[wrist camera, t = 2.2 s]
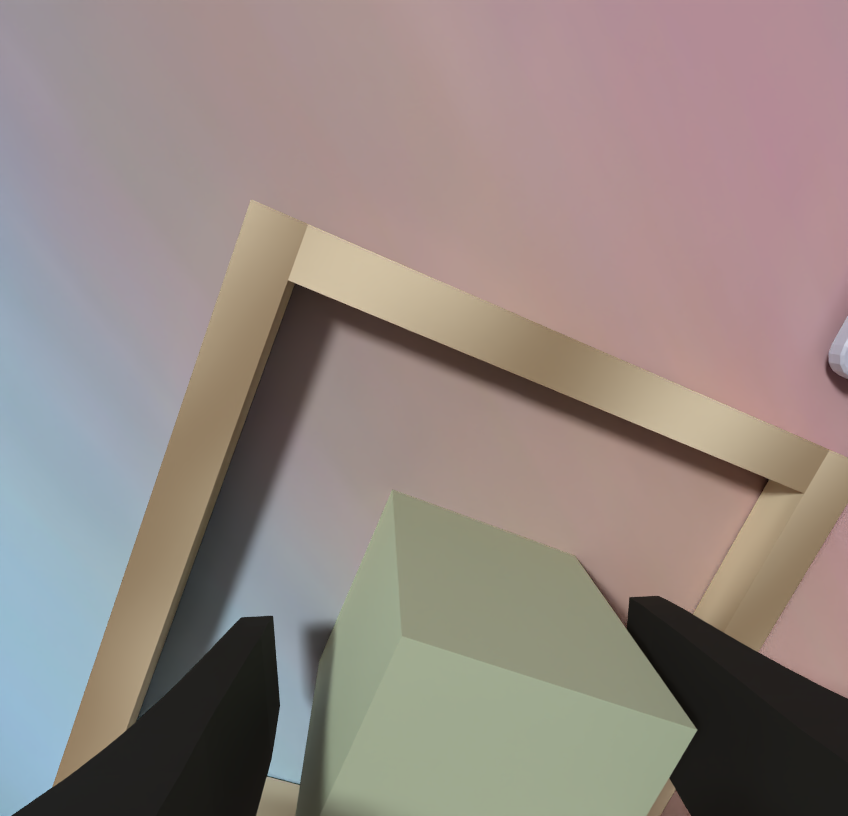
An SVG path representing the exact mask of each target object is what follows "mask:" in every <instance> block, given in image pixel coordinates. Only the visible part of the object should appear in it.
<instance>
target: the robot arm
mask: <svg viewBox="0 0 848 816" xmlns="http://www.w3.org/2000/svg"><path fill="white" fill-rule="evenodd" d="M829 364H830V366H831V368H832V370H833V371H834V372H835V373H837V374H838V375H839V376H842V377H844V378H846V379H848V316H847V318H846V320H845V322H844V323H843V325H842V327H841V329H840V330H839V332H838V334H837V336H836V338H835V339H834V341H833V343H832V345H831V348H830V351H829ZM627 631H628V632H629V633H630V635H631V636H632V638H633V639H634V641H635V642H636V643H637V645H638V646H639V648H640V649H641V650H642V652H643V653H644V655H645V656H646V658H647V659H648V660H649V662H650V663H651V665H652V666H653V668H654V669H655V670H656V672H657V673H658V675H659V676H660V678H661V679H662V680H663V682H664V683H665V685H666V686H667V687H668V689H669V690H670V692H671V693H672V695H673V696H674V697H675V699H676V700H677V702H678V703H679V705H680V706H681V707H682V709H683V710H684V712H685V713H686V714H687V716H688V717H689V719H690V720H691V722H692V723H693V724H694V726H695V727H696V729H697V732H696V733H695V735H694V737H693V738H692V740H691V742H690V743H689V745H688V747H687V748H686V750H685V752H684V753H683V755H682V757H681V759H680V760H679V762H678V764H677V765H676V767H675V769H674V770H673V772H672V774H671V775H670V777H669V779H670V780H671V782H672V784H673V786H674V787H675V789H676V791H677V792H678V794H679V796H680V798H681V799H682V801H683V803H684V804H685V806H686V808H687V809H688V811H689V813H690V815H691V816H848V699H847V698H845V697H843V696H841V695H839V694H837V693H834V692H832V691H830V690H828V689H826V688H824V687H822V686H820V685H818V684H816V683H814V682H812V681H811V680H809V679H807V678H805V677H803V676H801V675H799V674H797V673H795V672H793V671H791V670H789V669H788V668H786V667H784V666H782V665H780V664H778V663H776V662H775V661H773V660H771V659H769V658H767V657H766V656H764V655H762V654H760V653H758V652H757V651H755V650H753V649H751V648H750V647H748V646H746V645H744V644H743V643H741V642H739V641H737V640H736V639H734V638H732V637H731V636H729V635H727V634H725V633H724V632H722V631H720V630H719V629H717V628H715V627H713V626H712V625H710V624H708V623H707V622H705V621H703V620H702V619H700V618H698V617H696V616H695V615H693V614H691V613H690V612H688V611H686V610H684V609H683V608H681V607H679V606H677V605H675V604H674V603H672V602H670V601H668V600H666V599H664V598H662V597H660V596H647V597H630V598H629V610H628V621H627ZM279 708H280V700H279V687H278V674H277V661H276V649H275V636H274V623H273V616H260V617H241V618H240V619H239V620H238V621H237V622H236V623H235V624H234V625H233V626H232V627H231V628H230V629H229V630H228V631H227V633H226V634H225V635H224V636H223V637H222V638H221V639H220V640H219V641H218V642H217V643H216V644H215V645H214V646H213V647H212V648H211V649H210V650H209V652H208V653H207V654H206V655H205V656H204V657H203V658H202V659H201V660H200V661H199V662H198V663H197V664H196V665H195V666H194V667H193V668H192V669H191V670H190V671H189V672H188V673H187V674H186V675H185V676H184V677H183V678H182V679H181V680H180V681H179V682H178V683H177V684H176V685H175V686H174V687H173V688H172V689H171V690H170V691H169V692H168V693H167V694H166V695H165V696H164V697H163V698H161V699H160V700H159V701H158V702H157V703H156V704H155V705H154V706H153V707H152V708H151V709H150V710H148V711H147V712H146V713H145V714H144V715H143V716H142V717H141V718H140V719H139V720H138V721H136V722H135V723H134V724H133V725H132V726H131V727H130V728H128V729H127V730H126V731H125V732H124V733H123V734H121V735H120V736H119V737H118V738H117V739H115V740H114V741H113V742H112V743H111V744H109V745H108V746H107V747H106V748H104V749H103V750H102V751H100V752H99V753H98V754H97V755H95V756H94V757H93V758H92V759H90V760H89V761H88V762H86V763H85V764H84V765H83V766H81V767H80V768H79V769H77V770H76V771H75V772H73V773H72V774H71V775H69V776H68V777H67V778H65V779H64V780H62V781H61V782H59V783H58V784H57V785H55V786H54V787H52V788H51V789H49V790H48V791H46V792H45V793H44V794H42V795H41V796H39V797H38V798H36V799H35V800H33V801H32V802H31V803H29V804H28V805H26V806H25V807H23V808H22V809H20V810H19V811H18V812H16V813H15V814H13V815H12V816H256V814H257V810H258V807H259V803H260V800H261V796H262V792H263V789H264V785H265V781H266V777H267V774H268V770H269V766H270V762H271V758H272V752H273V746H274V740H275V734H276V728H277V721H278V715H279Z"/></svg>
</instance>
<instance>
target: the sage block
mask: <svg viewBox="0 0 848 816" xmlns="http://www.w3.org/2000/svg"><path fill="white" fill-rule="evenodd" d="M696 732H697V729H696V727H695V726H694V724H693V723H692V722H691V720H690V719H689V717H688V716H687V714H686V713H685V712H684V710H683V709H682V707H681V706H680V705H679V703H678V702H677V700H676V699H675V697H674V696H673V695H672V693H671V692H670V690H669V689H668V687H667V686H666V685H665V683H664V682H663V680H662V679H661V678H660V676H659V675H658V673H657V672H656V670H655V669H654V668H653V666H652V665H651V663H650V662H649V660H648V659H647V658H646V656H645V655H644V653H643V652H642V650H641V649H640V648H639V646H638V645H637V643H636V642H635V641H634V639H633V638H632V636H631V635H630V633H629V632H628V631H627V629H626V628H625V626H624V625H623V623H622V622H621V621H620V619H619V618H618V616H617V615H616V613H615V612H614V611H613V609H612V608H611V606H610V605H609V604H608V602H607V601H606V599H605V598H604V596H603V595H602V594H601V592H600V591H599V589H598V588H597V586H596V585H595V584H594V582H593V581H592V579H591V578H590V577H589V575H588V574H587V572H586V571H585V569H584V568H583V567H582V565H581V564H580V562H579V561H578V559H577V558H576V557H575V556H574V555H572V554H569V553H566V552H563V551H561V550H558V549H555V548H552V547H549V546H547V545H544V544H541V543H538V542H536V541H533V540H530V539H527V538H525V537H522V536H519V535H516V534H514V533H511V532H508V531H505V530H503V529H500V528H497V527H494V526H492V525H489V524H486V523H483V522H480V521H478V520H475V519H472V518H469V517H467V516H464V515H461V514H458V513H456V512H453V511H450V510H447V509H445V508H442V507H439V506H436V505H434V504H431V503H428V502H425V501H423V500H420V499H417V498H414V497H412V496H409V495H406V494H403V493H400V492H398V491H395V490H392V492H391V494H390V496H389V499H388V501H387V503H386V506H385V508H384V510H383V513H382V515H381V517H380V520H379V522H378V524H377V527H376V529H375V531H374V534H373V536H372V538H371V541H370V543H369V545H368V548H367V550H366V552H365V555H364V557H363V559H362V562H361V564H360V566H359V569H358V571H357V573H356V576H355V578H354V580H353V583H352V585H351V587H350V590H349V592H348V595H347V597H346V599H345V602H344V604H343V606H342V609H341V611H340V613H339V616H338V618H337V620H336V623H335V625H334V627H333V630H332V632H331V634H330V637H329V639H328V641H327V644H326V646H325V648H324V651H323V653H322V655H321V658H320V660H319V665H318V672H317V678H316V685H315V691H314V698H313V704H312V710H311V717H310V723H309V730H308V736H307V743H306V749H305V756H304V762H303V769H302V775H301V782H300V788H299V794H298V801H297V807H296V814H295V816H647V814H648V812H649V811H650V809H651V807H652V806H653V804H654V802H655V801H656V799H657V797H658V796H659V794H660V792H661V791H662V789H663V787H664V785H665V784H666V782H667V780H668V779H669V777H670V775H671V774H672V772H673V770H674V769H675V767H676V765H677V764H678V762H679V760H680V759H681V757H682V755H683V753H684V752H685V750H686V748H687V747H688V745H689V743H690V742H691V740H692V738H693V737H694V735H695V733H696Z"/></svg>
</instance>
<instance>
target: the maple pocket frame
mask: <svg viewBox="0 0 848 816" xmlns="http://www.w3.org/2000/svg"><path fill="white" fill-rule="evenodd" d="M295 283H296V284H298V285H301V286H303V287H306V288H308V289H311V290H313V291H315V292H318V293H320V294H323V295H325V296H327V297H330V298H332V299H335V300H337V301H340V302H342V303H344V304H347V305H349V306H352V307H354V308H357V309H359V310H361V311H364V312H366V313H369V314H371V315H373V316H376V317H378V318H381V319H383V320H386V321H388V322H390V323H393V324H395V325H398V326H400V327H402V328H405V329H407V330H410V331H412V332H415V333H417V334H419V335H422V336H424V337H427V338H429V339H432V340H434V341H436V342H439V343H441V344H444V345H446V346H448V347H451V348H453V349H456V350H458V351H461V352H463V353H465V354H468V355H470V356H473V357H475V358H477V359H480V360H482V361H485V362H487V363H490V364H492V365H494V366H497V367H499V368H502V369H504V370H507V371H509V372H511V373H514V374H516V375H519V376H521V377H523V378H526V379H528V380H531V381H533V382H536V383H538V384H540V385H543V386H545V387H548V388H550V389H553V390H555V391H557V392H560V393H562V394H565V395H567V396H569V397H572V398H574V399H577V400H579V401H582V402H584V403H586V404H589V405H591V406H594V407H596V408H598V409H601V410H603V411H606V412H608V413H611V414H613V415H615V416H618V417H620V418H623V419H625V420H628V421H630V422H632V423H635V424H637V425H640V426H642V427H644V428H647V429H649V430H652V431H654V432H657V433H659V434H661V435H664V436H666V437H669V438H671V439H673V440H676V441H678V442H681V443H683V444H686V445H688V446H690V447H693V448H695V449H698V450H700V451H703V452H705V453H707V454H710V455H712V456H715V457H717V458H719V459H722V460H724V461H727V462H729V463H732V464H734V465H736V466H739V467H741V468H744V469H746V470H748V471H751V472H753V473H756V474H758V475H761V476H763V477H765V478H768V479H769V481H768V483H767V484H766V486H765V488H764V490H763V491H762V493H761V495H760V497H759V498H758V500H757V502H756V504H755V506H754V507H753V509H752V511H751V513H750V514H749V516H748V518H747V520H746V521H745V523H744V525H743V527H742V528H741V530H740V532H739V534H738V536H737V537H736V539H735V541H734V543H733V544H732V546H731V548H730V550H729V551H728V553H727V555H726V557H725V559H724V560H723V562H722V564H721V566H720V567H719V569H718V571H717V573H716V574H715V576H714V578H713V580H712V582H711V583H710V585H709V587H708V589H707V590H706V592H705V594H704V596H703V597H702V599H701V601H700V603H699V605H698V606H697V608H696V610H695V612H694V613H693V615H695V616H696V617H698V618H700V619H702V620H703V621H705V622H707V623H708V624H710V625H712V626H713V627H715V628H717V629H719V630H720V631H722V632H724V633H725V634H727V635H729V636H731V637H732V638H734V639H736V640H737V641H739V642H741V643H743V644H744V645H746V646H748V647H750V648H751V649H753V650H755V651H757V652H758V651H759V650H760V648H761V646H762V645H763V643H764V641H765V640H766V638H767V636H768V635H769V633H770V631H771V630H772V628H773V626H774V625H775V623H776V621H777V620H778V618H779V616H780V615H781V613H782V611H783V610H784V608H785V606H786V605H787V603H788V601H789V600H790V598H791V596H792V595H793V593H794V591H795V590H796V588H797V586H798V585H799V583H800V581H801V580H802V578H803V576H804V575H805V573H806V571H807V570H808V568H809V566H810V565H811V563H812V561H813V560H814V558H815V556H816V555H817V553H818V551H819V550H820V548H821V546H822V545H823V543H824V541H825V540H826V538H827V536H828V535H829V533H830V531H831V530H832V528H833V526H834V525H835V523H836V521H837V520H838V518H839V516H840V515H841V513H842V511H843V510H844V508H845V506H846V505H847V503H848V458H847V457H845V456H843V455H840V454H838V453H836V452H833V451H831V450H829V449H826V448H824V447H822V446H819V445H817V444H815V443H812V442H810V441H808V440H806V439H803V438H801V437H799V436H796V435H794V434H792V433H789V432H787V431H785V430H782V429H780V428H778V427H775V426H773V425H771V424H769V423H766V422H764V421H762V420H759V419H757V418H755V417H752V416H750V415H748V414H745V413H743V412H741V411H738V410H736V409H734V408H732V407H729V406H727V405H725V404H722V403H720V402H718V401H715V400H713V399H711V398H708V397H706V396H704V395H702V394H699V393H697V392H695V391H692V390H690V389H688V388H685V387H683V386H681V385H678V384H676V383H674V382H671V381H669V380H667V379H665V378H662V377H660V376H658V375H655V374H653V373H651V372H648V371H646V370H644V369H641V368H639V367H637V366H634V365H632V364H630V363H628V362H625V361H623V360H621V359H618V358H616V357H614V356H611V355H609V354H607V353H604V352H602V351H600V350H597V349H595V348H593V347H591V346H588V345H586V344H584V343H581V342H579V341H577V340H574V339H572V338H570V337H567V336H565V335H563V334H560V333H558V332H556V331H554V330H551V329H549V328H547V327H544V326H542V325H540V324H537V323H535V322H533V321H530V320H528V319H526V318H523V317H521V316H519V315H517V314H514V313H512V312H510V311H507V310H505V309H503V308H500V307H498V306H496V305H493V304H491V303H489V302H487V301H484V300H482V299H480V298H477V297H475V296H473V295H470V294H468V293H466V292H463V291H461V290H459V289H456V288H454V287H452V286H450V285H447V284H445V283H443V282H440V281H438V280H436V279H433V278H431V277H429V276H426V275H424V274H422V273H419V272H417V271H415V270H413V269H410V268H408V267H406V266H403V265H401V264H399V263H396V262H394V261H392V260H389V259H387V258H385V257H382V256H380V255H378V254H376V253H373V252H371V251H369V250H366V249H364V248H362V247H359V246H357V245H355V244H352V243H350V242H348V241H345V240H343V239H341V238H339V237H336V236H334V235H332V234H329V233H327V232H325V231H322V230H320V229H318V228H315V227H313V226H311V225H308V224H306V223H304V222H302V221H299V220H297V219H295V218H292V217H290V216H288V215H285V214H283V213H281V212H278V211H276V210H274V209H272V208H269V207H267V206H265V205H262V204H260V203H258V202H255V201H253V200H251V201H250V204H249V207H248V210H247V213H246V216H245V219H244V222H243V225H242V228H241V231H240V233H239V236H238V239H237V242H236V245H235V248H234V251H233V254H232V257H231V260H230V263H229V266H228V269H227V272H226V275H225V278H224V281H223V284H222V287H221V290H220V293H219V296H218V299H217V302H216V305H215V307H214V310H213V313H212V316H211V319H210V322H209V325H208V328H207V331H206V334H205V337H204V340H203V343H202V346H201V349H200V352H199V355H198V358H197V361H196V364H195V367H194V370H193V373H192V376H191V378H190V381H189V384H188V387H187V390H186V393H185V396H184V399H183V402H182V405H181V408H180V411H179V414H178V417H177V420H176V423H175V426H174V429H173V432H172V435H171V438H170V441H169V444H168V447H167V450H166V452H165V455H164V458H163V461H162V464H161V467H160V470H159V473H158V476H157V479H156V482H155V485H154V488H153V491H152V494H151V497H150V500H149V503H148V506H147V509H146V512H145V515H144V518H143V521H142V524H141V526H140V529H139V532H138V535H137V538H136V541H135V544H134V547H133V550H132V553H131V556H130V559H129V562H128V565H127V568H126V571H125V574H124V577H123V580H122V583H121V586H120V589H119V592H118V595H117V597H116V600H115V603H114V606H113V609H112V612H111V615H110V618H109V621H108V624H107V627H106V630H105V633H104V636H103V639H102V642H101V645H100V648H99V651H98V654H97V657H96V660H95V663H94V666H93V669H92V671H91V674H90V677H89V680H88V683H87V686H86V689H85V692H84V695H83V698H82V701H81V704H80V707H79V710H78V713H77V716H76V719H75V722H74V725H73V728H72V731H71V734H70V737H69V740H68V742H67V745H66V748H65V751H64V754H63V757H62V760H61V763H60V766H59V769H58V772H57V775H56V778H55V781H54V784H53V787H54V786H55V785H57V784H58V783H59V782H61V781H62V780H64V779H65V778H67V777H68V776H69V775H71V774H72V773H73V772H75V771H76V770H77V769H79V768H80V767H81V766H83V765H84V764H85V763H86V762H88V761H89V760H90V759H92V758H93V757H94V756H95V755H97V754H98V753H99V752H100V751H102V750H103V749H104V748H106V747H107V746H108V745H109V744H111V743H112V742H113V741H114V740H115V739H117V738H118V737H119V736H120V735H121V734H123V733H124V732H125V731H126V730H127V729H128V728H130V727H131V726H132V725H133V724H134V723H135V722H136V720H137V717H138V715H139V712H140V709H141V706H142V704H143V701H144V698H145V695H146V693H147V690H148V687H149V684H150V682H151V679H152V676H153V673H154V671H155V668H156V665H157V662H158V660H159V657H160V654H161V651H162V649H163V646H164V643H165V640H166V638H167V635H168V632H169V629H170V626H171V624H172V621H173V618H174V615H175V613H176V610H177V607H178V604H179V602H180V599H181V596H182V593H183V591H184V588H185V585H186V582H187V580H188V577H189V574H190V571H191V569H192V566H193V563H194V560H195V558H196V555H197V552H198V549H199V547H200V544H201V541H202V538H203V536H204V533H205V530H206V527H207V525H208V522H209V519H210V516H211V514H212V511H213V508H214V505H215V503H216V500H217V497H218V494H219V492H220V489H221V486H222V483H223V480H224V478H225V475H226V472H227V469H228V467H229V464H230V461H231V458H232V456H233V453H234V450H235V447H236V445H237V442H238V439H239V436H240V434H241V431H242V428H243V425H244V423H245V420H246V417H247V414H248V412H249V409H250V406H251V403H252V401H253V398H254V395H255V392H256V390H257V387H258V384H259V381H260V379H261V376H262V373H263V370H264V368H265V365H266V362H267V359H268V357H269V354H270V351H271V348H272V345H273V343H274V340H275V337H276V334H277V332H278V329H279V326H280V323H281V321H282V318H283V315H284V312H285V310H286V307H287V304H288V301H289V299H290V296H291V293H292V290H293V288H294V285H295ZM299 788H300V785H297V784H293V783H289V782H286V781H282V780H278V779H274V778H271V777H266V781H265V785H264V789H263V792H262V796H261V800H260V803H259V807H258V810H257V814H256V816H295V814H296V807H297V801H298V794H299ZM675 790H676V789H675V787H674V786H673V784H672V782H671V780H670V779H668V780H667V782H666V784H665V785H664V787H663V789H662V791H661V792H660V794H659V796H658V797H657V799H656V801H655V802H654V804H653V806H652V807H651V809H650V811H649V812H648V814H647V816H660V815H661V813H662V812H663V810H664V808H665V807H666V805H667V803H668V802H669V800H670V798H671V797H672V795H673V793H674V792H675Z"/></svg>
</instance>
